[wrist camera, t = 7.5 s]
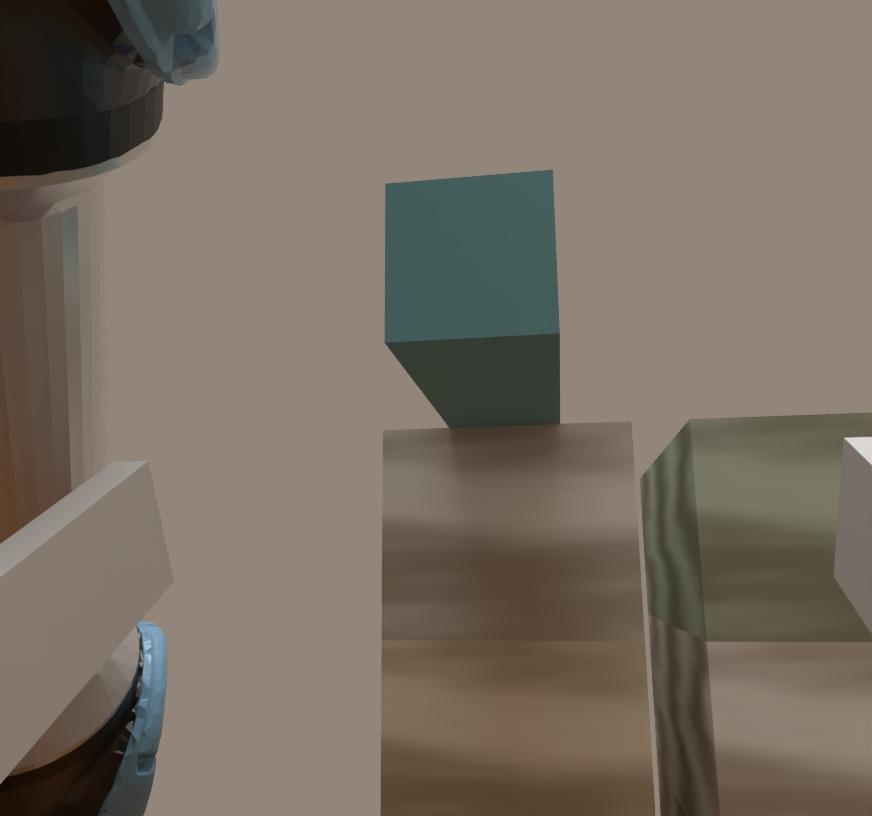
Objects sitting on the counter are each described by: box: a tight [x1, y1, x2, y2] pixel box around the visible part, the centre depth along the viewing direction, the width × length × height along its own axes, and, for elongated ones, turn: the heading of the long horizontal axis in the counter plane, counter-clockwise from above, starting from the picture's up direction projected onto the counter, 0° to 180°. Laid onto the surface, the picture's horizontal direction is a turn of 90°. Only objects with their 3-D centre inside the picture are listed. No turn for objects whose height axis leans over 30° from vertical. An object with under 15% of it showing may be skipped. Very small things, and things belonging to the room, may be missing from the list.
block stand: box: [381, 413, 872, 816], centre depth 33 cm, size 18×20×30 cm
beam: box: [385, 170, 560, 428], centre depth 33 cm, size 30×4×4 cm, turn 171°
